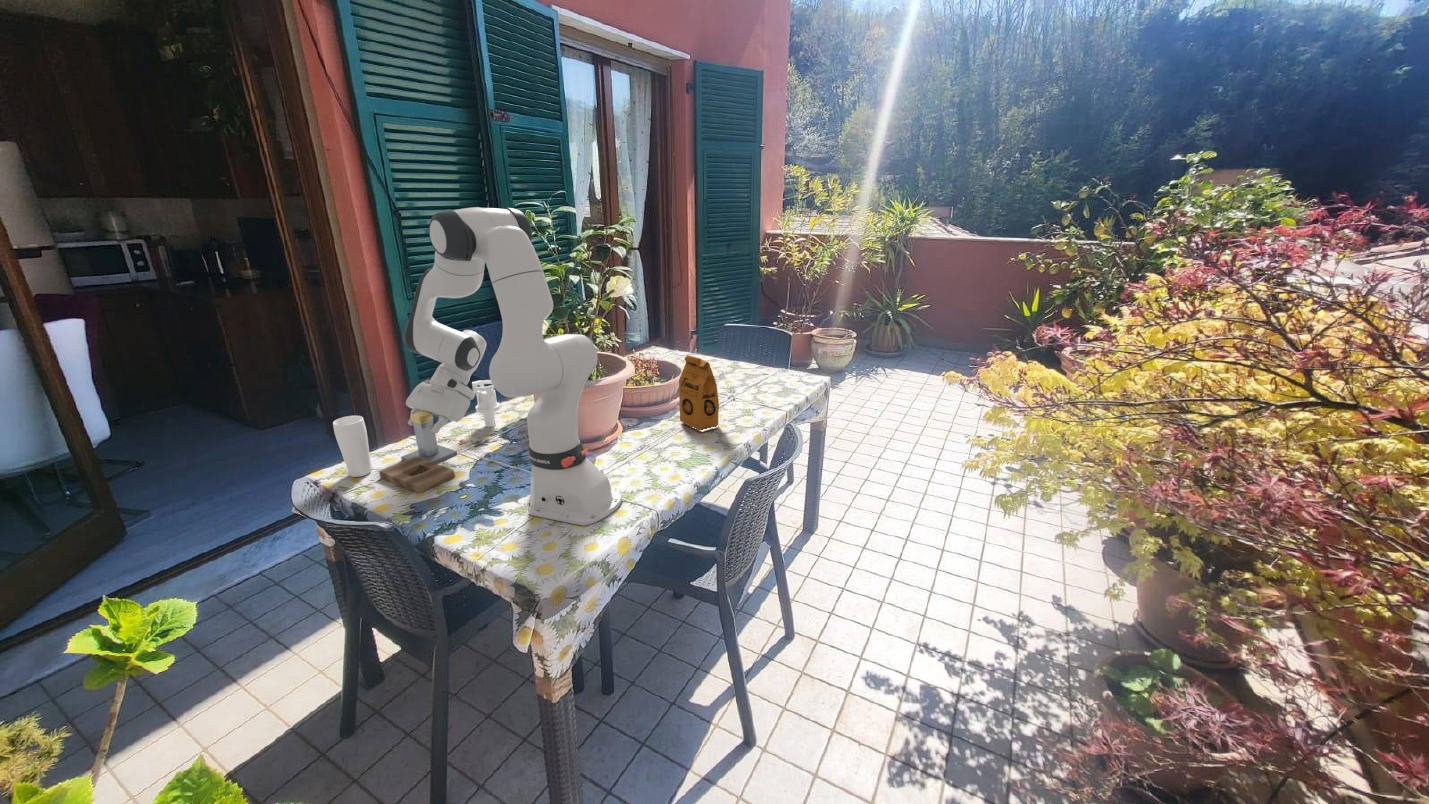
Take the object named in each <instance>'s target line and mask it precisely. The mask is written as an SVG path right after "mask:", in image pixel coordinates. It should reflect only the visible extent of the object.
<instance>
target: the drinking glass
mask: <svg viewBox="0 0 1429 804" xmlns="http://www.w3.org/2000/svg"><path fill="white" fill-rule="evenodd" d="M332 426H333V432H334V436H335V439H336V441H337V444H338V447H339V449H340V450H339V451H340V452H341V455H342V458H343V460H344V464H345V466H346V469H347V474H348V476H349V477H352V478H360V477H365V476H367V475H369V474H370V473H372V470H373V467H372V463H371V462H372V461H371V455H370V454H371V453H370V448H369V438H368V432H367V427H366V423H365V420H364V417H363V416H361V415H348V416H343V417H340V418H337V419H335V420H334V421H333V422H332Z"/></svg>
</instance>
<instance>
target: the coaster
mask: <svg viewBox="0 0 1429 804" xmlns="http://www.w3.org/2000/svg"><path fill="white" fill-rule="evenodd" d="M437 446H438V452H439V453H438V454H435V455H433V456H431V457H428V458H426V457H423V456H420V455H419V451H418V449H417V450H415V451H412V452H409V453H407V454H404V455H402V456H400V457H401V458H400V459H401V461H405V460H407V459H409V458H412V457H414V456H416V457H419V458H421V459H424V460H427V461H430V462H433V463H435V464H438V462H439V463H441V462H443V461H446V460H447V459H449V458H452V457H454V456H456V455H458V452H457V451H458V450H455V449H452V448H449V447H445V446H442V445H439V444H437ZM442 460H443V461H442ZM440 461H441V462H440Z"/></svg>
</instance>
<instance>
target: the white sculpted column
mask: <svg viewBox="0 0 1429 804" xmlns="http://www.w3.org/2000/svg"><path fill="white" fill-rule="evenodd" d="M485 385H488V386H485ZM471 386H472V391H473V392H474V393H475V397H476V401H477V402H476V403H477V405H475V412H476V413H479V414H483V418H484V424H485V425H484V426H485V427H486V428H493V427H495V426H496V418H495V412H498V411H499V410H500V409H501V404H500V402H497V401H498V400H497V395H496V389H495V387H494V386H493V384H492V382H491V380H490V379H487V380H486V379H485V380H480V379H479V380H475V381H472V382H471Z"/></svg>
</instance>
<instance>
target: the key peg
mask: <svg viewBox="0 0 1429 804" xmlns="http://www.w3.org/2000/svg"><path fill="white" fill-rule="evenodd" d="M410 415H411V420H412V422H413V426H412V427H413V431H414V435H415V440H416V444H417V445H416V446H417V450H418V451H419V455H420V456H423V457H426V458H428V457H431V456H433V455H435V454H438V453H439V452H438V446H437V445H438V442H437V436H436V433H433V432H431V431H430V428H431V426H432V424H433V425H434V415H433V414H432V413H431V412H427V411H424V410H423V411H420V412H417V413H414V414H411V413H410Z"/></svg>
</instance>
